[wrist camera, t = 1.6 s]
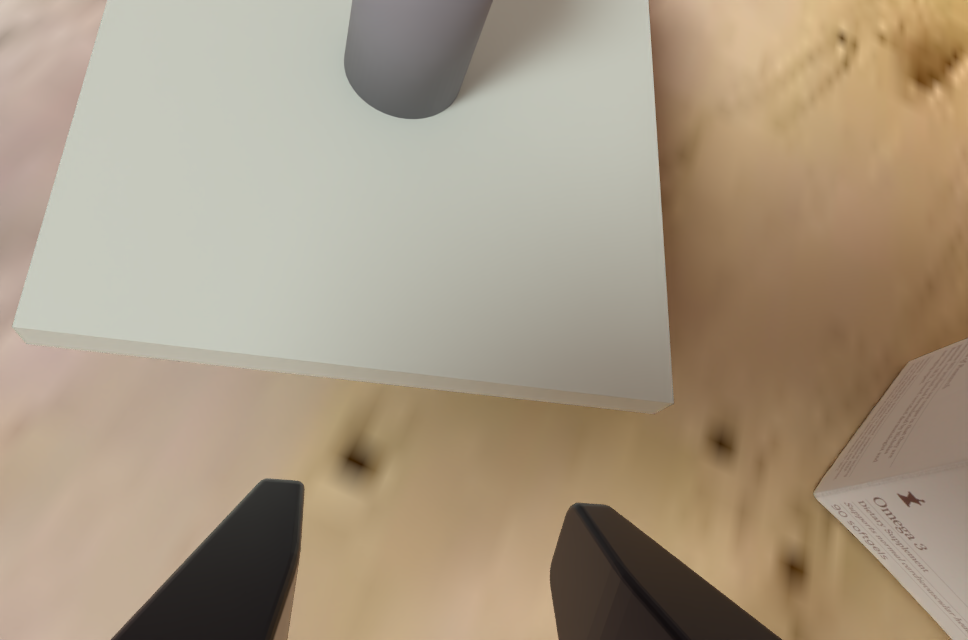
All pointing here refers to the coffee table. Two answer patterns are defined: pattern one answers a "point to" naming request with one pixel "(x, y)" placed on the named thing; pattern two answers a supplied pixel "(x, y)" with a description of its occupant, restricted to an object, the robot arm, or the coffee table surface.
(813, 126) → the coffee table surface
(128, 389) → the coffee table surface
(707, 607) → the robot arm
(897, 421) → the supplement box
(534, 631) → the coffee table surface
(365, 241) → the box lid
